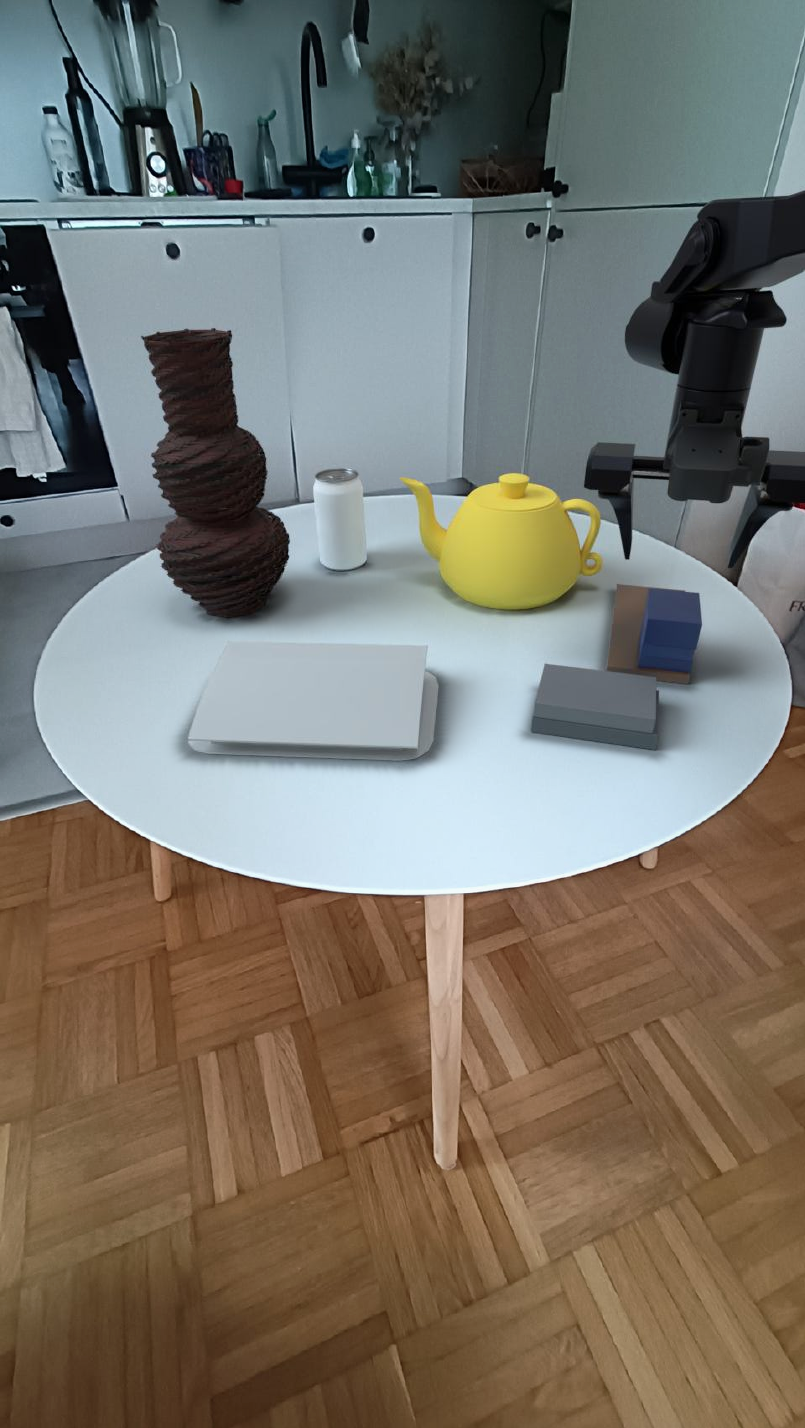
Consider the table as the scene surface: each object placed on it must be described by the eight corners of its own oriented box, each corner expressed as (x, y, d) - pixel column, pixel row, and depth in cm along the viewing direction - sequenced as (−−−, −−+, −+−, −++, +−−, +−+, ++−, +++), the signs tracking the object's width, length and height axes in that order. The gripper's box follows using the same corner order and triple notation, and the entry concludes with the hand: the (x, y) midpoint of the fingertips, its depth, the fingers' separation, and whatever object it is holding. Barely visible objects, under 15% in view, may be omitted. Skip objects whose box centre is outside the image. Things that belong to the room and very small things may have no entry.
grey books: (656, 703, 69) (662, 675, 67) (655, 750, 63) (662, 721, 61) (541, 688, 72) (544, 661, 70) (530, 732, 66) (533, 703, 64)
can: (356, 549, 103) (350, 464, 96) (374, 565, 98) (369, 477, 91) (313, 558, 100) (304, 472, 93) (330, 575, 96) (322, 485, 89)
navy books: (639, 634, 78) (643, 611, 77) (688, 639, 77) (693, 616, 75) (637, 667, 73) (642, 643, 71) (689, 673, 71) (695, 649, 70)
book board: (683, 597, 87) (685, 590, 87) (687, 684, 72) (690, 676, 71) (616, 591, 89) (617, 583, 89) (605, 674, 74) (607, 666, 73)
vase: (146, 624, 86) (72, 344, 68) (211, 572, 98) (163, 323, 80) (262, 640, 82) (214, 347, 64) (315, 584, 94) (287, 324, 76)
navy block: (644, 612, 76) (648, 587, 75) (693, 616, 75) (699, 592, 74) (642, 643, 71) (647, 618, 69) (696, 649, 70) (702, 624, 68)
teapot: (390, 609, 87) (385, 498, 79) (414, 552, 101) (412, 452, 93) (602, 621, 83) (619, 504, 75) (596, 559, 97) (610, 456, 89)
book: (227, 664, 77) (220, 632, 75) (440, 670, 75) (440, 637, 73) (177, 753, 65) (168, 718, 63) (431, 762, 63) (431, 726, 61)
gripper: (589, 402, 55) (568, 588, 64) (860, 411, 50) (796, 611, 59) (600, 375, 64) (580, 542, 73) (832, 380, 59) (780, 558, 68)
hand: (677, 562), depth 68 cm, fingers open, 9 cm apart
